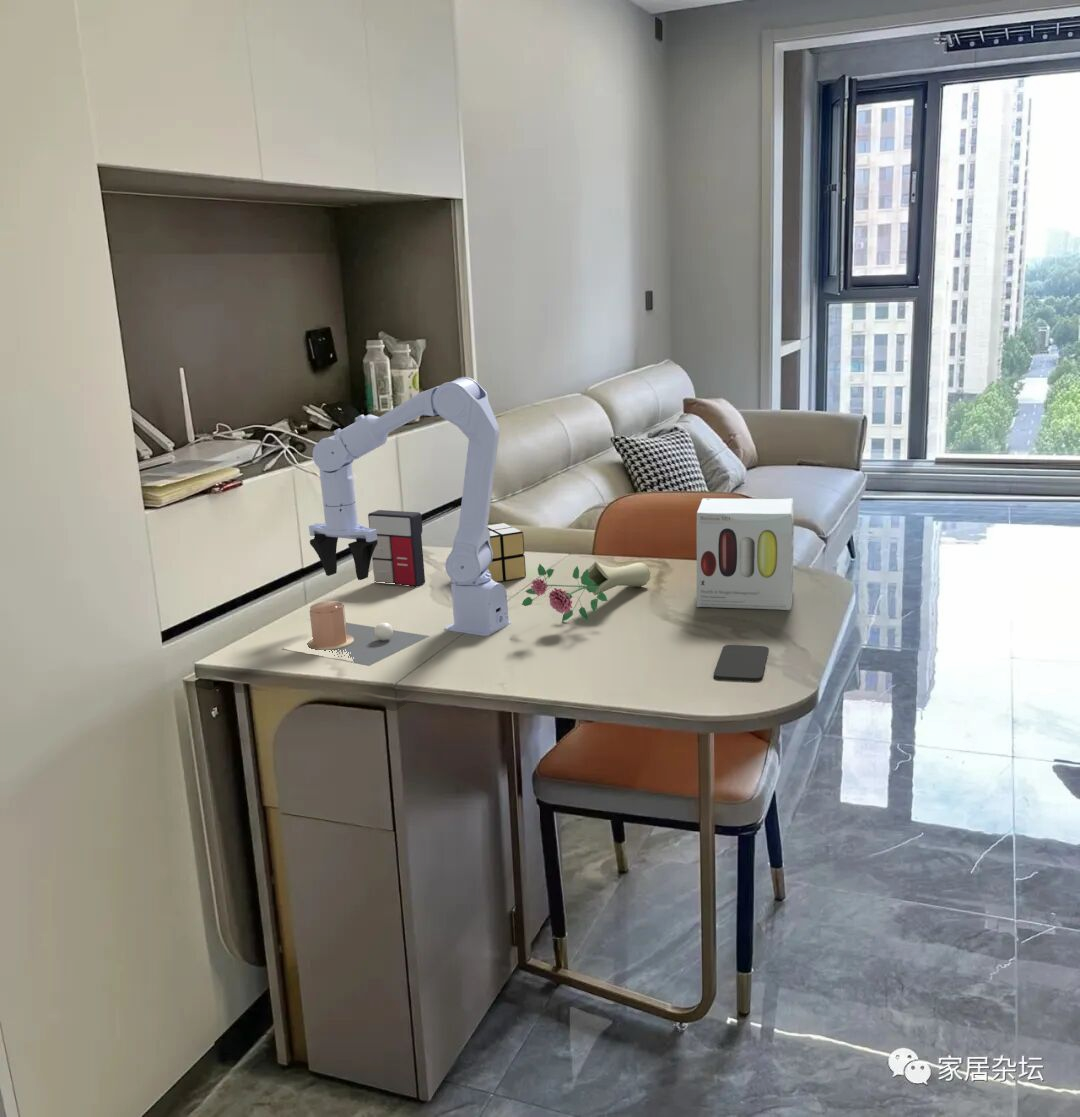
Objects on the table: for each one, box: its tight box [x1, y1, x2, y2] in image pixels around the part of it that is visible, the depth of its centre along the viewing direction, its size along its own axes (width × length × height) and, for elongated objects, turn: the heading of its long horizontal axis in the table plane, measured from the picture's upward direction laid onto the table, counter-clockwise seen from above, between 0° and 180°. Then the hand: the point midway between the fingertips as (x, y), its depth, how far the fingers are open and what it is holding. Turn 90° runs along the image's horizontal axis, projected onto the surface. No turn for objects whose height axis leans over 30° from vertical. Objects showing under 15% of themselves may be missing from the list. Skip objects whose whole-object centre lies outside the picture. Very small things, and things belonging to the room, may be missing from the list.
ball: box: [374, 622, 394, 641], centre depth 187 cm, size 3×3×3 cm
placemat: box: [329, 622, 430, 667], centre depth 187 cm, size 20×16×1 cm
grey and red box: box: [367, 509, 426, 588], centre depth 222 cm, size 11×4×15 cm, turn 62°
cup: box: [309, 600, 347, 647], centre depth 187 cm, size 6×6×6 cm
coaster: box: [307, 635, 354, 651], centre depth 188 cm, size 8×8×1 cm
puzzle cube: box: [488, 522, 527, 583], centre depth 224 cm, size 10×10×10 cm
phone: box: [713, 644, 770, 682], centre depth 168 cm, size 7×1×15 cm
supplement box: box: [696, 497, 795, 611], centre depth 198 cm, size 17×13×18 cm
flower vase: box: [521, 561, 651, 622], centre depth 198 cm, size 12×12×35 cm
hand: (347, 576), depth 196 cm, fingers open, 7 cm apart
